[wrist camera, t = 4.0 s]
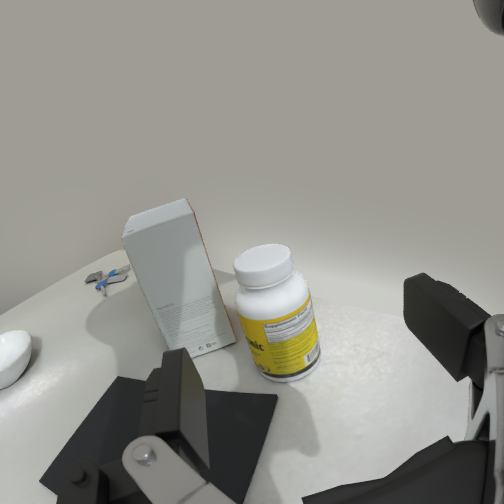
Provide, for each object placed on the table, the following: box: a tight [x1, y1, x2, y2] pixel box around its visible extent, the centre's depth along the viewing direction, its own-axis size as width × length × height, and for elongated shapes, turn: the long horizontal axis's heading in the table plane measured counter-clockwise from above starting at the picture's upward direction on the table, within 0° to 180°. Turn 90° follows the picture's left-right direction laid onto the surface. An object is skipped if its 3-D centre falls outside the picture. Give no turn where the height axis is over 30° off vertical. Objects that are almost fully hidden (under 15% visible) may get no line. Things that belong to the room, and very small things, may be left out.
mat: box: [39, 376, 278, 504], centre depth 19 cm, size 16×14×1 cm
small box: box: [121, 198, 237, 358], centre depth 30 cm, size 8×6×13 cm
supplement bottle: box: [233, 244, 321, 382], centre depth 23 cm, size 5×5×10 cm
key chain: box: [85, 265, 130, 295], centre depth 53 cm, size 14×8×1 cm, turn 47°
